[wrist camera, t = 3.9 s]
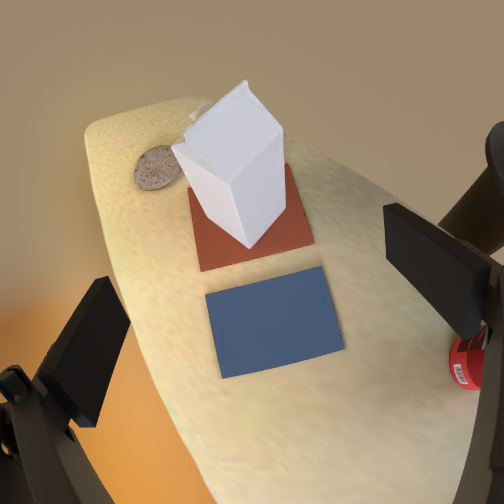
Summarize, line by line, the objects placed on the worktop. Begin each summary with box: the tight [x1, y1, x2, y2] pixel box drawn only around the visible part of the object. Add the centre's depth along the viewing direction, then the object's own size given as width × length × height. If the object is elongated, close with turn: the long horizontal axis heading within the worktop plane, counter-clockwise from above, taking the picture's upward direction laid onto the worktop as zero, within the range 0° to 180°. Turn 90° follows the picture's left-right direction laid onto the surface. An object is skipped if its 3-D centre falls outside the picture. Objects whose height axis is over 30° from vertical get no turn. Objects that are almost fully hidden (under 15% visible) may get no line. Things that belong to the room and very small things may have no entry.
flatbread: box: [134, 145, 181, 190], centre depth 44 cm, size 8×8×1 cm
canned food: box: [449, 325, 488, 390], centre depth 26 cm, size 8×8×11 cm
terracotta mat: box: [188, 163, 314, 272], centre depth 40 cm, size 14×12×1 cm
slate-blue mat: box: [205, 266, 344, 379], centre depth 35 cm, size 14×10×1 cm
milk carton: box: [171, 80, 286, 249], centre depth 31 cm, size 7×7×19 cm
